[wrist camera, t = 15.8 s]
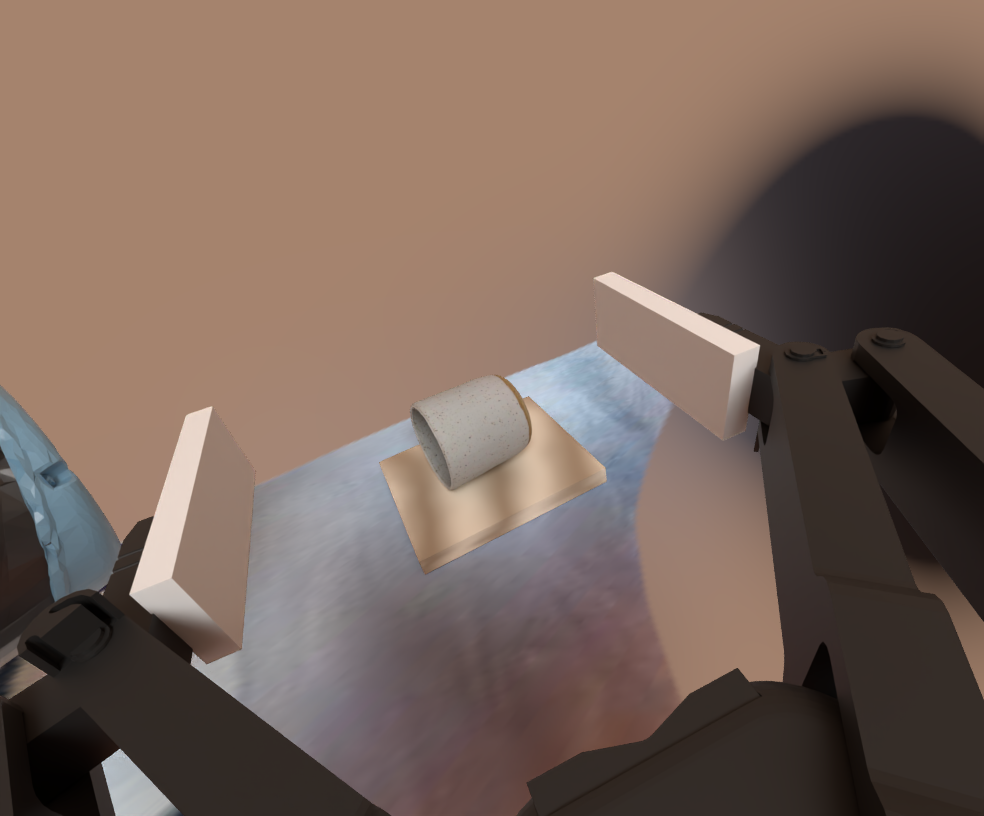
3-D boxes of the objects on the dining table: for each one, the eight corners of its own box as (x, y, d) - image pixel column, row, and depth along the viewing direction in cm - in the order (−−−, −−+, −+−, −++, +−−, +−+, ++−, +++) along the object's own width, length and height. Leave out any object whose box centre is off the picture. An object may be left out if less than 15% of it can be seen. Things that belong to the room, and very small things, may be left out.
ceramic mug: (544, 459, 40) (529, 382, 36) (461, 508, 37) (434, 432, 33) (482, 409, 48) (464, 342, 44) (410, 447, 45) (383, 379, 41)
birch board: (425, 574, 35) (419, 561, 34) (384, 473, 45) (378, 462, 44) (606, 481, 38) (605, 468, 38) (530, 408, 49) (528, 396, 48)
